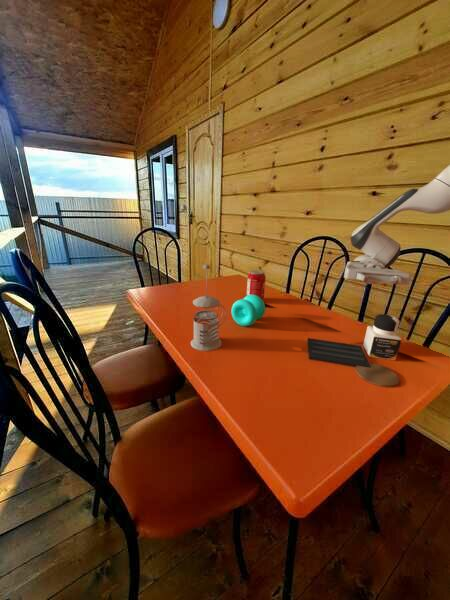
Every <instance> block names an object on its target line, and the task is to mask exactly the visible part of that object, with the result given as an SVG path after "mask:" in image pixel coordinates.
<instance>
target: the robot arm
mask: <svg viewBox="0 0 450 600" xmlns="http://www.w3.org/2000/svg"><path fill="white" fill-rule="evenodd" d="M403 211H414V212H420V213H425V214H428V215H429V214H431V215H438V214H442V213H446V212H449V211H450V164H449V165H448V166H446V167H445V168H444V169H443V170H442V171H441V172H440V173H438V174H437V175H436V176H435V177H434V178H433V179H432V180H431V181H430V182H428V183H427V184H425V185H424V186H421V187H419V188H411V189H409V190H407V191H405V192H403V193H402V194H401V195H399V196H398V197H397V198H395V199H394V200H393V201H391V202H390V203H389V204H387V205H386V206H385V207H383V208H382V209H381V210H379V211H378V212H377V213H376V214H375V215H373V216H372V217H370V219H367V220H366V221H365V222H364V223H362V224H361V225H358V227H356V228H355V229H354V230H353V232H352V233H351V234H350V243H351V247H354V248H355V249H357V250H359V251H361V252H362V253H363V254H361V255H358V256H356V257H355V258H354V259H353V260H349V261H347V263H346V265H345V269H344V274H343V278H344V279H345V280H352V281H358V282H362V283H365V284H367V285H373V284H374V285H375V284H377V283H384V284H385V283H386V284H394V285H408V284H410V281H411V278H412V274H411V273H409V272H408V271H407V272H406V271H404V270H399V269H391V268H389V267H390V266H392V265H393V264H394V263H395V262H396V261H397V260H398V258H399V257H400V254H401V249H402V248H401V244H400V243H399V242H397V241H396V240H395V239H394V238H392V237H391V236H389V235H387V234H386V233H384V231H382V230H381V229H380V227H381V226H382V225H384V224H385V223H387V222H388V221H389V220H390V219H392V218H393V217H395V216H396V215H397V214H399V213H401V212H403ZM388 268H389V269H388Z"/></svg>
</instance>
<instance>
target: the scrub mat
mask: <svg viewBox="0 0 450 600" xmlns="http://www.w3.org/2000/svg"><path fill="white" fill-rule="evenodd" d="M307 349H308V351H307V352H308V353H307V354H308V359H309V360H313V361H319V362H324V363H331V364H336V365H342V366H349V367H353V368H356V366H363V367H369V368H370V367H371V366H370V364H369V363H370V362H369V360H368V358H367V355H366V353H365V352H364V349H363V346H362V345H358V344H351V343H345V342H337V341H332V340H325V339H324V340H323V339H318V338H310V337H308V338H307Z"/></svg>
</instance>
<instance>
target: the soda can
mask: <svg viewBox="0 0 450 600" xmlns="http://www.w3.org/2000/svg"><path fill="white" fill-rule="evenodd" d="M266 278H267V275H266V272H265V271H263V270H259V269H253V270H250V271H249V273H248V274H247V279H246V294H245V297H246V296H248V295H256V296H258V297H260V298H261V299H262V300H263V302H264V301H265V291H266ZM264 303H265V302H264Z"/></svg>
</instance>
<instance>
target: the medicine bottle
mask: <svg viewBox="0 0 450 600" xmlns="http://www.w3.org/2000/svg"><path fill="white" fill-rule="evenodd" d="M399 326H400V319H398V317H396V316H394V315H390V314H385V313H384V314H383V313H380V314H377V315H376V316H375V317H374V321H373V325H367V327H366V332H365V336H364V340H363V344H362V347H363V348H364V350H365V352H366V353H367V356H368V357H369V358H375V359H382V360H388V361H396V360H397V356H398V354H399V351H400V347H401V343H402V338H401V336H400V335H398V329H399Z"/></svg>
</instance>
